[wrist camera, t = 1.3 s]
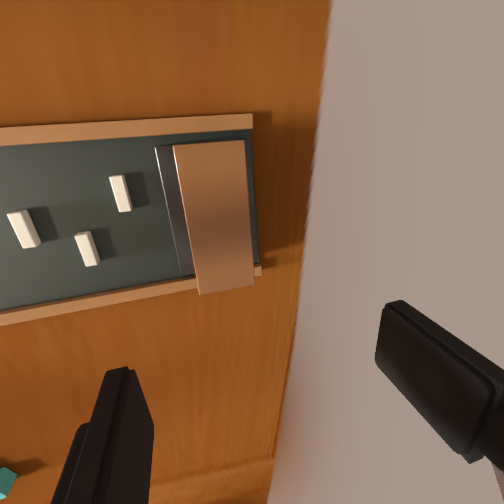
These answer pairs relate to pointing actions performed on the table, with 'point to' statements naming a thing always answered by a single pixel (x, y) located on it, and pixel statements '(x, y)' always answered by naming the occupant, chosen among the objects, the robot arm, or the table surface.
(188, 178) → the eraser
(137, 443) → the robot arm
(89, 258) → the chalk stub
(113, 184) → the chalk stub
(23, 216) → the chalk stub
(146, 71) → the table surface
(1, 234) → the slate board
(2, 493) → the alien figure
